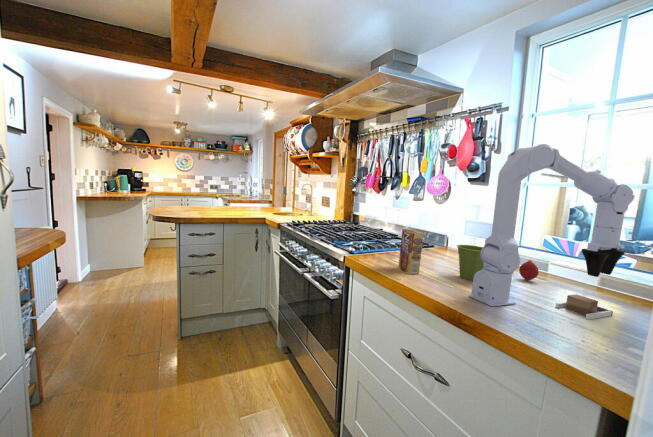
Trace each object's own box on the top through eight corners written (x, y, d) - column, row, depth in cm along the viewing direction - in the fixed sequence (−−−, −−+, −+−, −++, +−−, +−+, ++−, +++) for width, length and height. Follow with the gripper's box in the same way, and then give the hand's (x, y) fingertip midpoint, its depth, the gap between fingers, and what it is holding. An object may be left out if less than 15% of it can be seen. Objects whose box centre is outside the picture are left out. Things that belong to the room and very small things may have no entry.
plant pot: (496, 285, 99) (501, 252, 98) (461, 282, 99) (465, 250, 98) (479, 275, 111) (483, 245, 110) (447, 272, 111) (451, 243, 110)
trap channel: (588, 319, 75) (589, 315, 75) (555, 307, 82) (556, 303, 82) (612, 315, 79) (612, 311, 79) (578, 304, 86) (579, 300, 86)
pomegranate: (540, 284, 104) (543, 262, 103) (522, 282, 105) (525, 260, 104) (532, 279, 110) (535, 258, 109) (515, 277, 111) (518, 256, 110)
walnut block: (586, 317, 77) (589, 302, 77) (565, 309, 82) (567, 295, 81) (595, 315, 78) (598, 301, 78) (574, 307, 83) (576, 294, 83)
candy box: (420, 274, 106) (424, 232, 104) (409, 274, 105) (413, 232, 103) (408, 267, 114) (411, 228, 113) (397, 267, 113) (401, 228, 112)
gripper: (615, 229, 75) (606, 281, 76) (637, 229, 82) (629, 277, 83) (581, 225, 81) (573, 273, 83) (604, 225, 88) (597, 270, 89)
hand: (599, 274), depth 83 cm, fingers open, 7 cm apart
